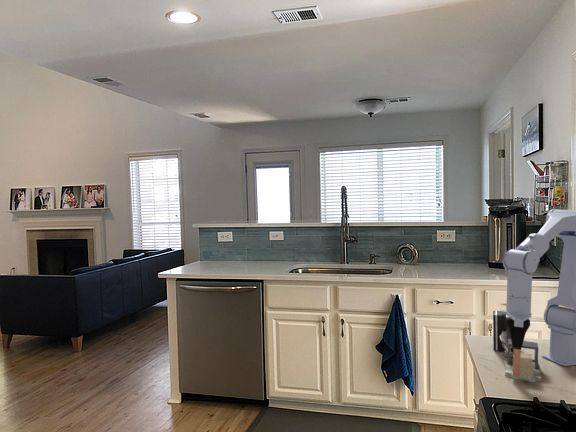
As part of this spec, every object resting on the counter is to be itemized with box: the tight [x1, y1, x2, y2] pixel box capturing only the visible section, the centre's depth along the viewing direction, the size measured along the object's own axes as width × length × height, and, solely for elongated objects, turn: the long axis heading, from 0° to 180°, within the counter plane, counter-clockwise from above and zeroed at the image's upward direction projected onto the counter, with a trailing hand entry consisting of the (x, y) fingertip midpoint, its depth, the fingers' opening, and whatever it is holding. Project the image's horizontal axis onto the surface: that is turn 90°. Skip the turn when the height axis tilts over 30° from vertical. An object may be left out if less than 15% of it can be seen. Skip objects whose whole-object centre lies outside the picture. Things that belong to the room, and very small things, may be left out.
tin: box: [500, 316, 522, 352], centre depth 143 cm, size 15×3×8 cm, turn 170°
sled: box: [511, 347, 537, 383], centre depth 119 cm, size 8×5×8 cm
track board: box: [504, 354, 542, 383], centre depth 125 cm, size 14×8×1 cm, turn 154°
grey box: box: [507, 339, 539, 369], centre depth 126 cm, size 4×7×6 cm, turn 64°
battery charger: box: [492, 309, 507, 352], centre depth 141 cm, size 7×4×11 cm, turn 156°
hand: (517, 346), depth 119 cm, fingers closed
